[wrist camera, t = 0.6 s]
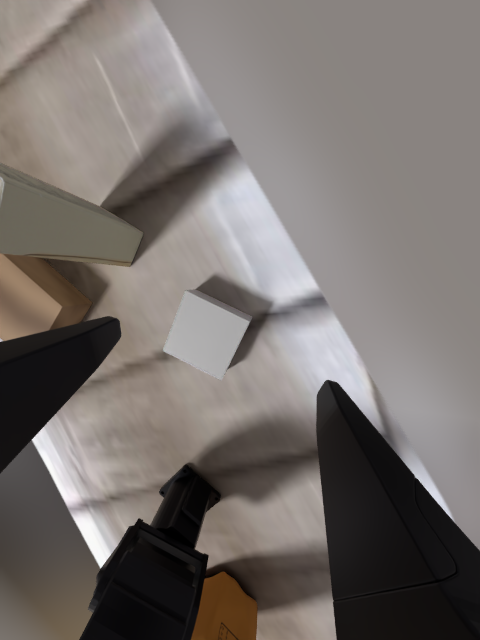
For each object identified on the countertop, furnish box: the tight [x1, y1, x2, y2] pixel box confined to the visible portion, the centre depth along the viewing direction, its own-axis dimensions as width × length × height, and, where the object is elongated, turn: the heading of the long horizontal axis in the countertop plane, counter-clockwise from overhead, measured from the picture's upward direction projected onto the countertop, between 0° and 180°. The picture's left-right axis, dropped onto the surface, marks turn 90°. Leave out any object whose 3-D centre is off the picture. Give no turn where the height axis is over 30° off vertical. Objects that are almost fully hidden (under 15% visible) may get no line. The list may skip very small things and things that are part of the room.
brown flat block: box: [0, 253, 92, 341], centre depth 24 cm, size 9×9×4 cm
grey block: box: [163, 289, 252, 380], centre depth 22 cm, size 7×7×3 cm
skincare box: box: [0, 163, 143, 267], centre depth 17 cm, size 6×4×12 cm
